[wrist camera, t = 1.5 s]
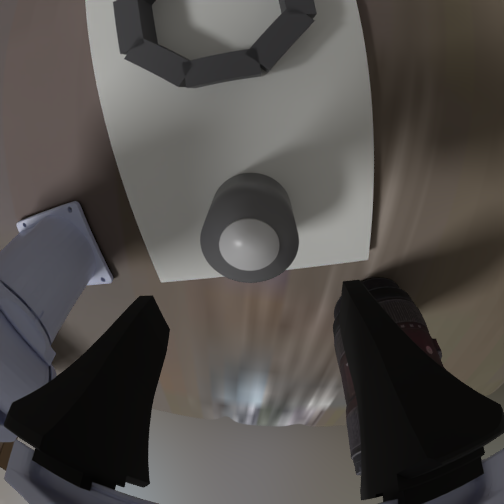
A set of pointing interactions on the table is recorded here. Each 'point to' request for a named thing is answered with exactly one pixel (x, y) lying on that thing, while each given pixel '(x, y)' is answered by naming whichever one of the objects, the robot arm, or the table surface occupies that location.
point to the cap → (250, 229)
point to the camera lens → (407, 320)
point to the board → (237, 117)
